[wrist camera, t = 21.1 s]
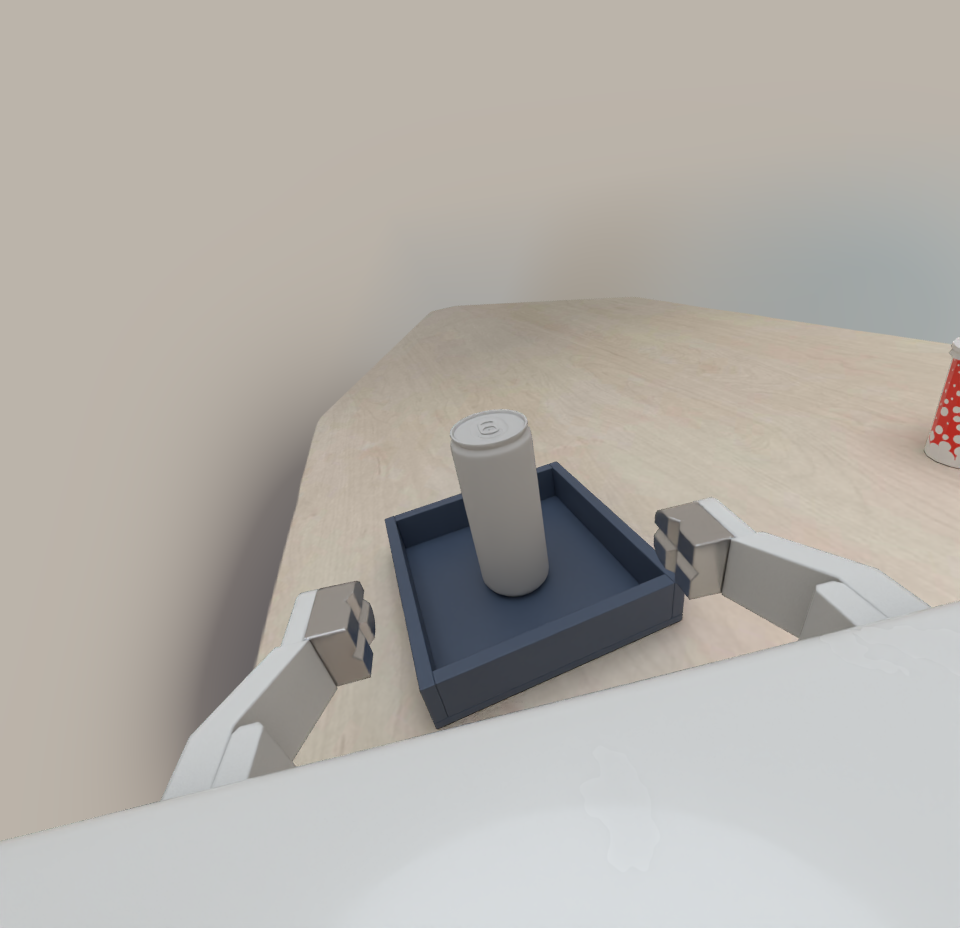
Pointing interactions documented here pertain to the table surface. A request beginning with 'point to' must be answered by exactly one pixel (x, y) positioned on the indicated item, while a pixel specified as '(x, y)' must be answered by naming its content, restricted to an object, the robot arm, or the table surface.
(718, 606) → the table surface
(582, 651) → the tray
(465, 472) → the beverage can
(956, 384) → the beverage cup
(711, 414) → the table surface
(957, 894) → the robot arm
